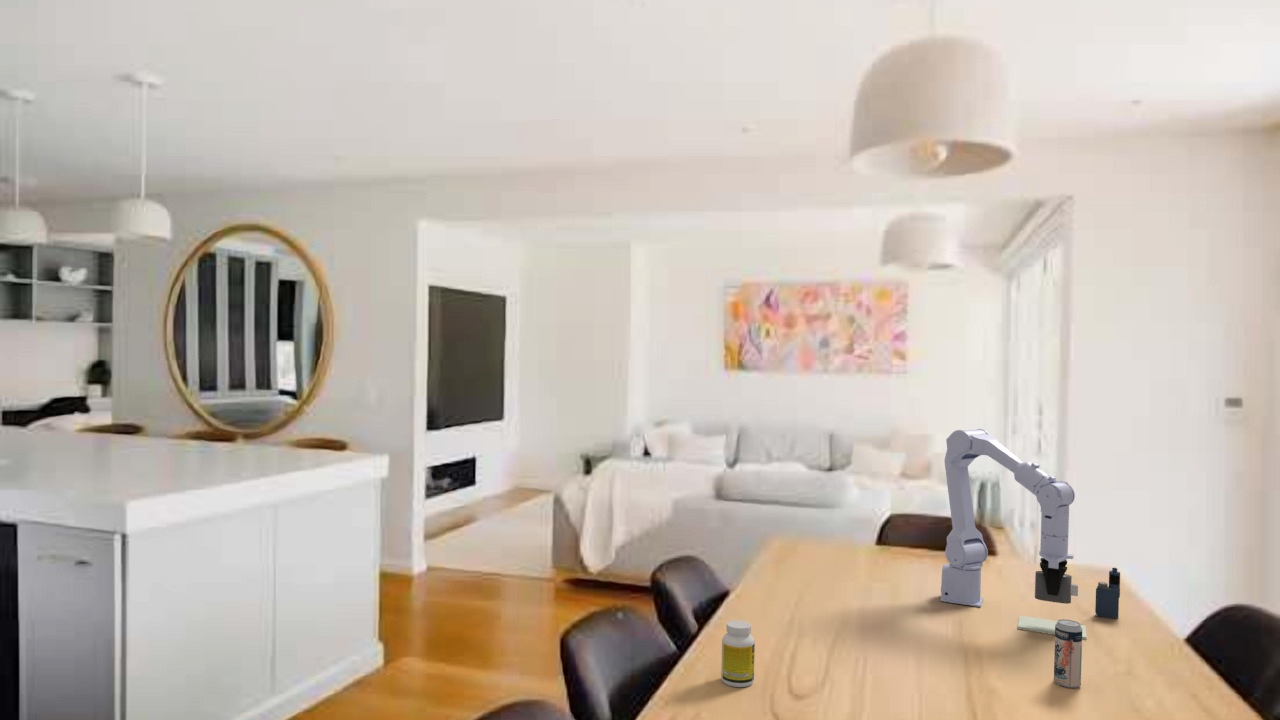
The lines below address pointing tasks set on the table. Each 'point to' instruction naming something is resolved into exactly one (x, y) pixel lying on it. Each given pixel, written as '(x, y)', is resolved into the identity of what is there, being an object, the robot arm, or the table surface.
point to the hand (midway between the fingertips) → (1052, 592)
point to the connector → (1064, 591)
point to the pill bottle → (738, 654)
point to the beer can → (1068, 653)
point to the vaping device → (1108, 596)
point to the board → (1041, 625)
